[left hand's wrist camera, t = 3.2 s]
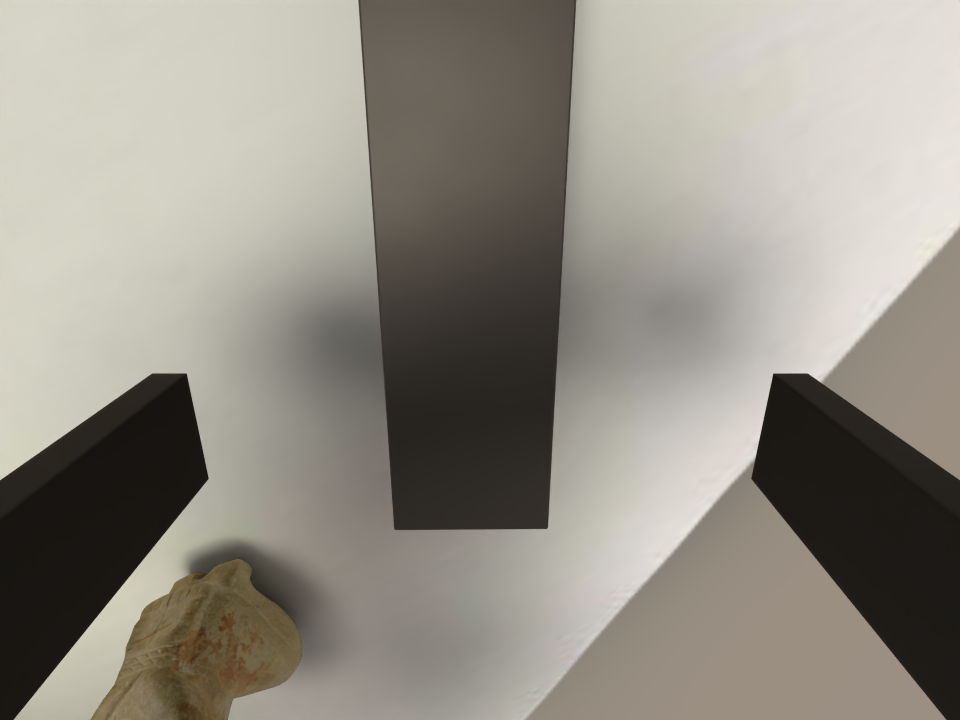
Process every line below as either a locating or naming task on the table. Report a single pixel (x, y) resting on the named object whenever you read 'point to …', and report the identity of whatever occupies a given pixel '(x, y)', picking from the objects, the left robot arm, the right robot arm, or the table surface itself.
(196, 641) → the sculpture
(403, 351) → the bar
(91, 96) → the table surface
